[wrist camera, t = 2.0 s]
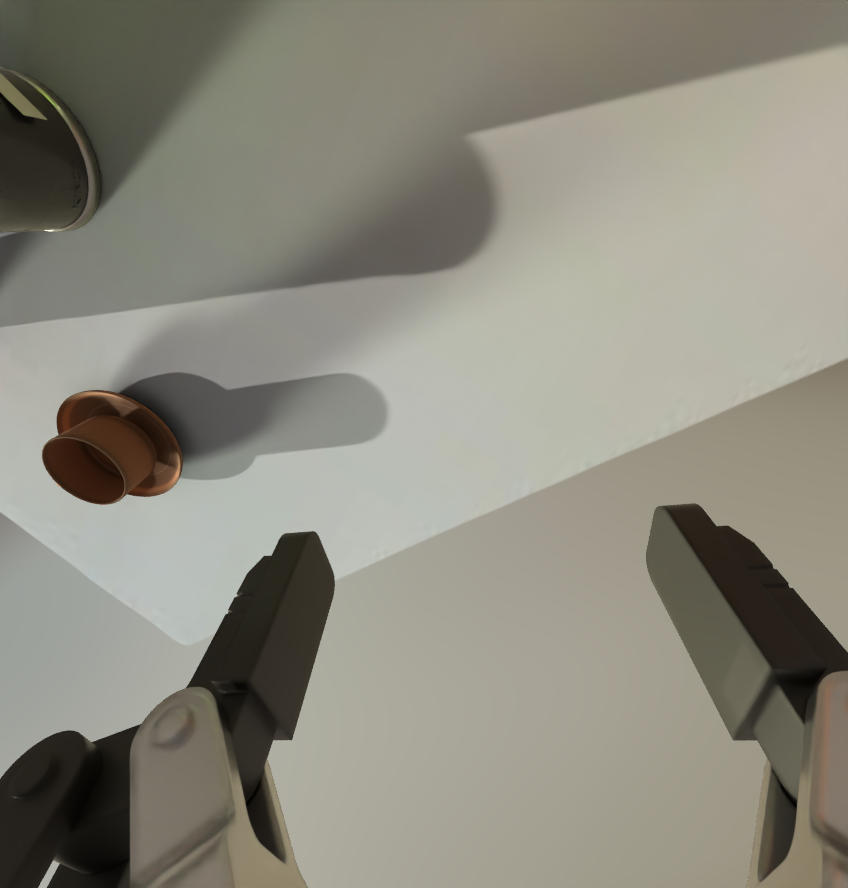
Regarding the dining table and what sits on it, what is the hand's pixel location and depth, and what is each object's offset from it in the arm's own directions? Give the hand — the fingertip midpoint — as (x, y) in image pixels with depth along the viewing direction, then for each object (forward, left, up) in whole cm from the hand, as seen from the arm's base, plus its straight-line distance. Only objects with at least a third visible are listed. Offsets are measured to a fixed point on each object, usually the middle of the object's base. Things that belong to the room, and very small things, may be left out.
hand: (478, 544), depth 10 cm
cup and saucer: (-28, -22, -26) cm, 44 cm away
